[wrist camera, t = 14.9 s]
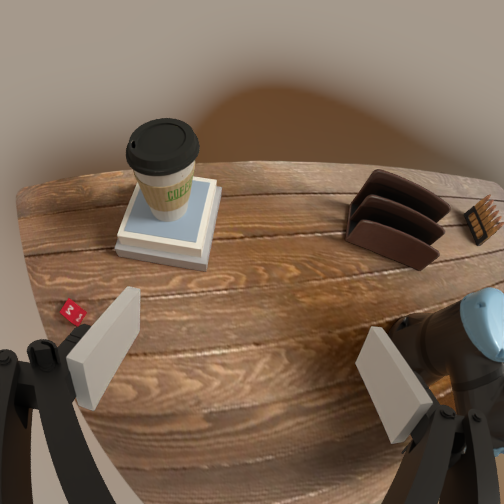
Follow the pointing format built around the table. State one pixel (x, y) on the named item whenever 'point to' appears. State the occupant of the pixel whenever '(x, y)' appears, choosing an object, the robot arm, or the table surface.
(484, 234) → the ammunition clip
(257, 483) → the table surface
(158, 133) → the coffee cup
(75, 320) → the red letter cube
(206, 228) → the plinth
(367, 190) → the letter holder
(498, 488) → the robot arm
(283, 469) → the table surface
